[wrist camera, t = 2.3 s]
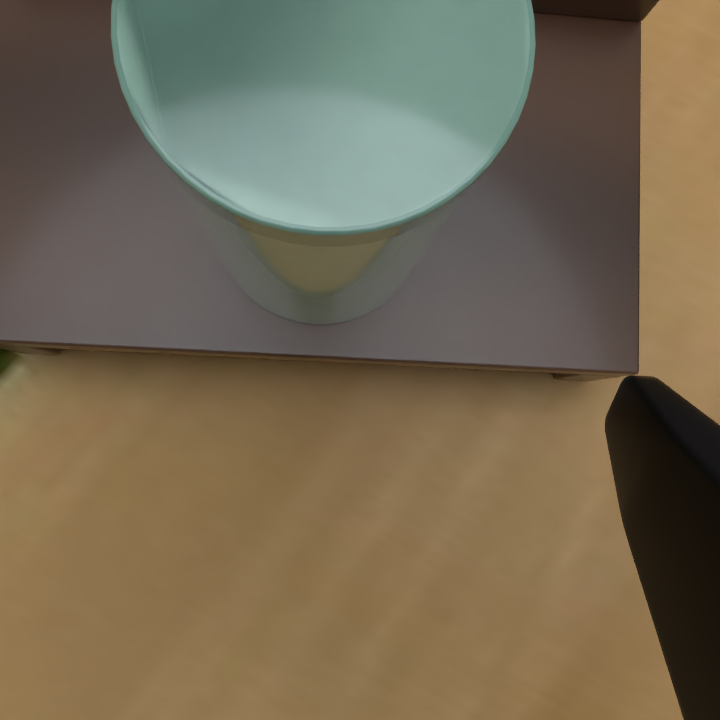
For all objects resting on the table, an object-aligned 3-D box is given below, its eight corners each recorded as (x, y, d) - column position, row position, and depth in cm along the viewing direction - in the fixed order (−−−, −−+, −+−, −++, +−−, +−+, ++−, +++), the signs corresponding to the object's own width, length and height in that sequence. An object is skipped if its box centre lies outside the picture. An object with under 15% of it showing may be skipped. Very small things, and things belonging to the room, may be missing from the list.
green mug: (423, 332, 18) (533, 248, 9) (203, 320, 18) (91, 220, 9) (433, 53, 19) (544, -277, 10) (221, 36, 18) (136, -324, 9)
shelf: (589, 381, 22) (679, 369, 16) (20, 353, 21) (-84, 330, 15) (593, 59, 23) (680, -52, 17) (50, 14, 22) (-36, -119, 16)
